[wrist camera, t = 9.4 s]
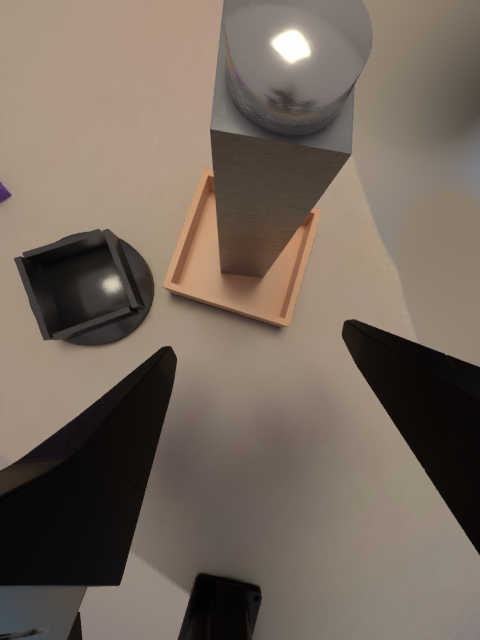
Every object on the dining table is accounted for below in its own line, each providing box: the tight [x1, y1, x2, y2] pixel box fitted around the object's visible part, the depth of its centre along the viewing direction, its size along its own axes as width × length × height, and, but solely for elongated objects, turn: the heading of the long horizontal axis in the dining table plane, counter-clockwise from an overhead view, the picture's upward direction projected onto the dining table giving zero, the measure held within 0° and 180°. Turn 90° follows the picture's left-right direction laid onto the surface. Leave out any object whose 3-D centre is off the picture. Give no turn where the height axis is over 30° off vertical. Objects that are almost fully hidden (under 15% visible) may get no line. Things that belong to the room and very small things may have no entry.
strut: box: [210, 0, 373, 278], centre depth 12 cm, size 4×4×14 cm
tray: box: [162, 168, 322, 327], centre depth 18 cm, size 12×12×2 cm
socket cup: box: [14, 229, 154, 345], centre depth 16 cm, size 11×11×2 cm
